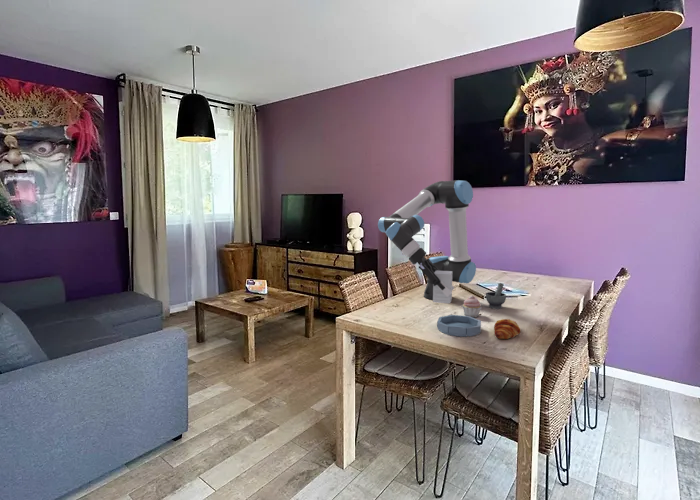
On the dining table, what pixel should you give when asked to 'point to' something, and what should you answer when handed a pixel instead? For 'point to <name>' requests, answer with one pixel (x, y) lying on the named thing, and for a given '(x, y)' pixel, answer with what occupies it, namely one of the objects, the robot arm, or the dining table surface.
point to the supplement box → (447, 280)
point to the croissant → (506, 329)
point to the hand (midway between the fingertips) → (450, 292)
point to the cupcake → (471, 307)
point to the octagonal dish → (459, 325)
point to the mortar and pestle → (496, 297)
